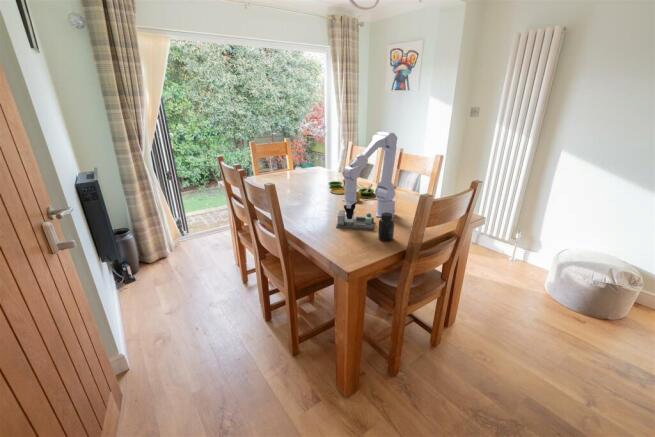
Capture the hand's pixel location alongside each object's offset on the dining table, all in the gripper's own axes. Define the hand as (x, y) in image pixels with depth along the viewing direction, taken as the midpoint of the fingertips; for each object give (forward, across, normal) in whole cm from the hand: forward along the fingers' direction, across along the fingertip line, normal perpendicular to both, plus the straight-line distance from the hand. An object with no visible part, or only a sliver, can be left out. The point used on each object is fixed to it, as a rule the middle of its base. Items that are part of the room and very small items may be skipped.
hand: (350, 217), depth 148 cm
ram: (+3, 0, +9) cm, 10 cm away
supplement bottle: (+4, +14, +18) cm, 23 cm away
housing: (+2, 0, 0) cm, 2 cm away
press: (+4, 0, +3) cm, 5 cm away
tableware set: (+5, -55, -5) cm, 56 cm away
